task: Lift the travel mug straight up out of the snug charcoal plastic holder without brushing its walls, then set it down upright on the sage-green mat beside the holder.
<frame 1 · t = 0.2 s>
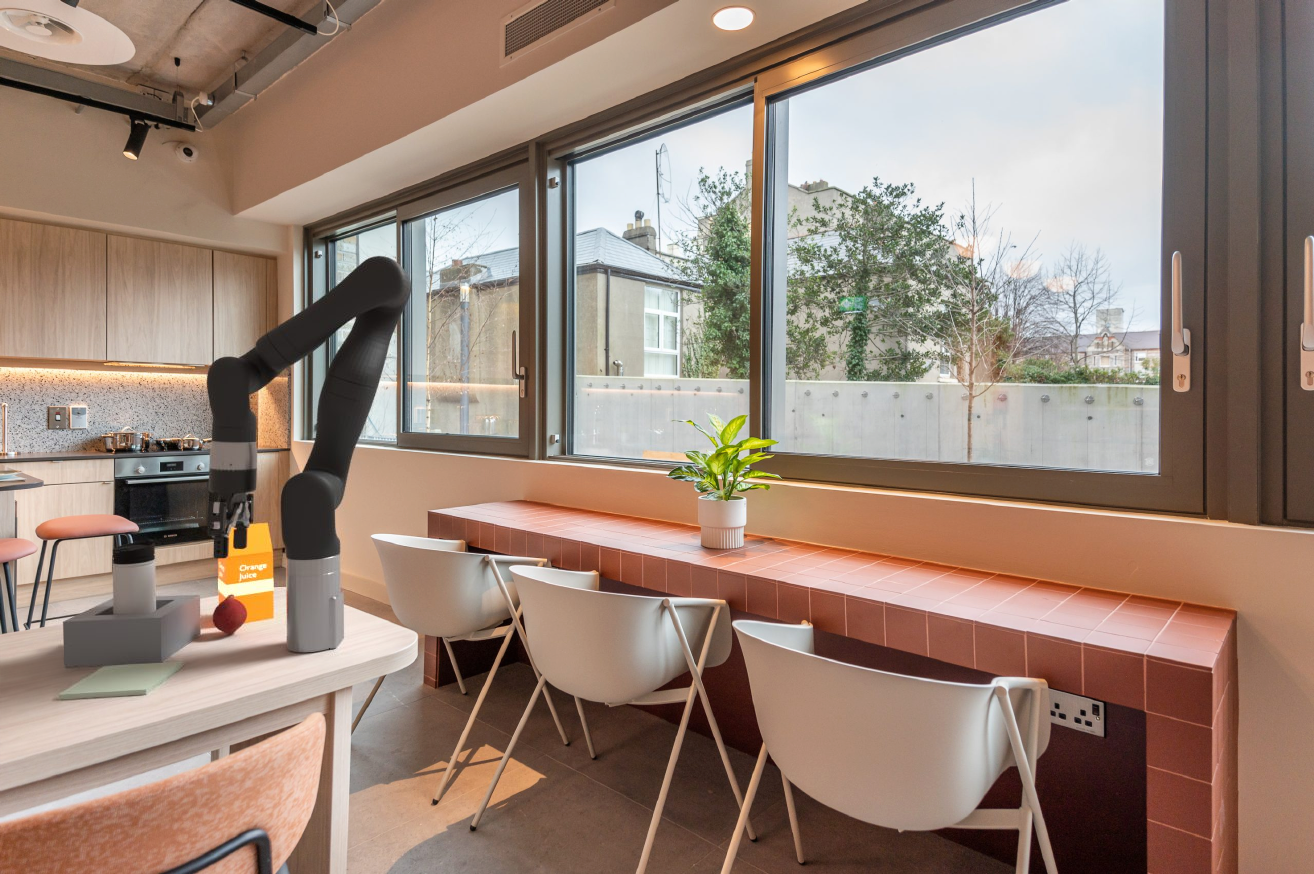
hand: (230, 553, 128), 18 cm above the table, tool pointing down, fingers open, 8 cm apart
onion: (230, 635, 137), on the table
orange juice: (246, 618, 148), on the table
travel mug: (137, 651, 128), resting in holder
holder: (137, 650, 128), on the table
mat: (124, 681, 113), on the table
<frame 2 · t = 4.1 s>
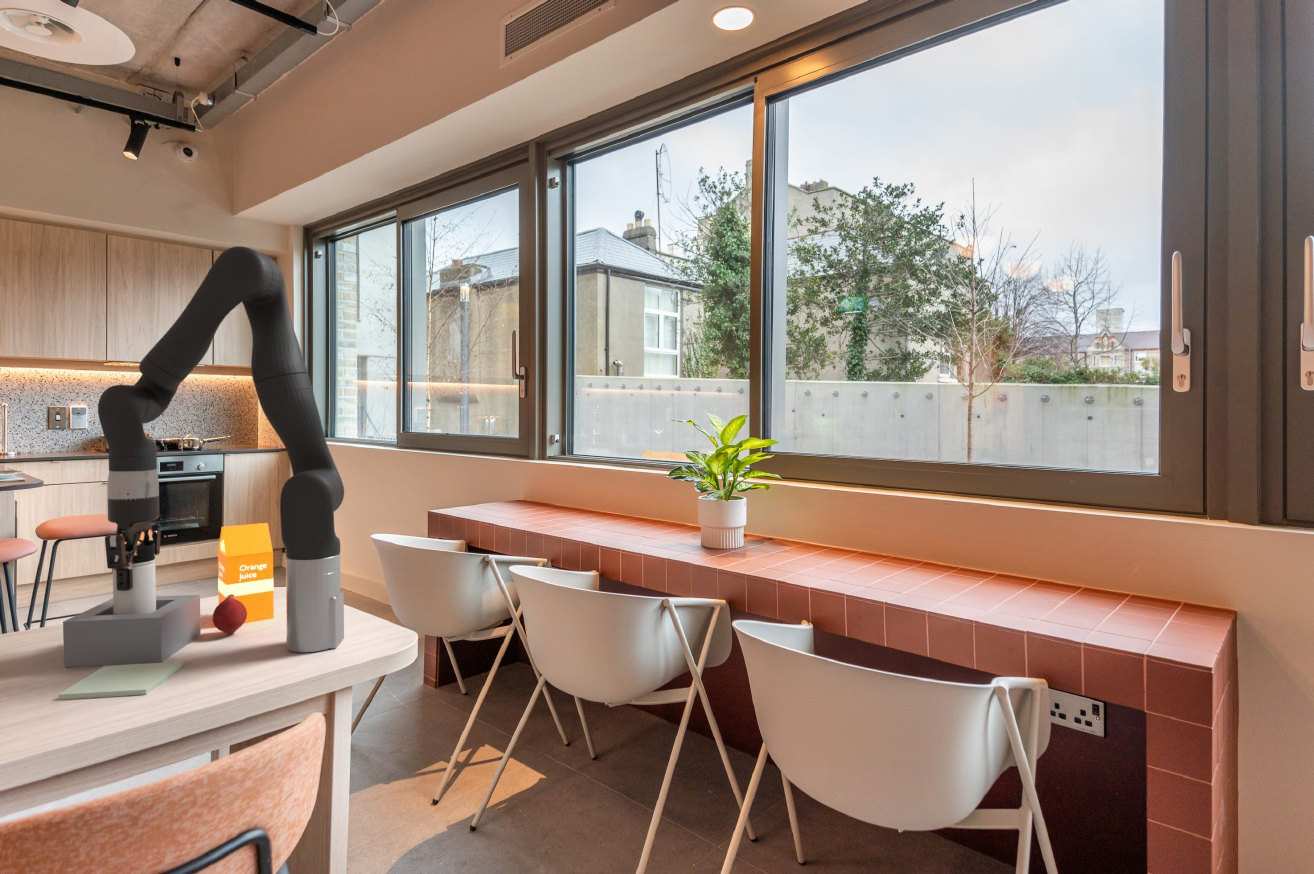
hand: (135, 585, 127), 12 cm above the table, tool pointing down, fingers closed on travel mug, 6 cm apart
travel mug: (136, 651, 128), resting in holder, touching gripper
everything else where it was.
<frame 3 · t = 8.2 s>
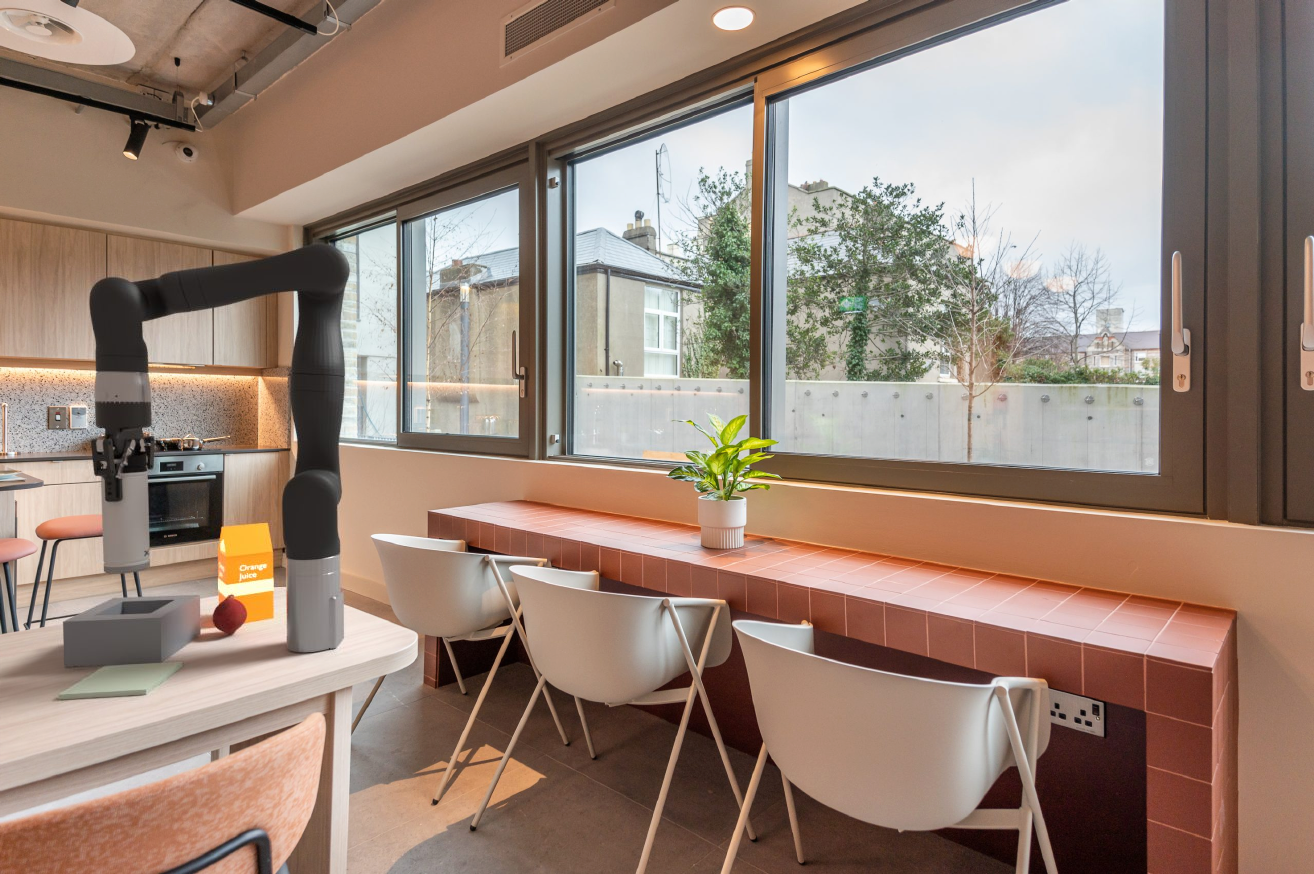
hand: (126, 498, 117), 29 cm above the table, tool pointing down, fingers closed on travel mug, 6 cm apart
travel mug: (128, 570, 118), point 17 cm above the table, touching gripper
everything else where it was.
when the fingers open (15 cm above the table, at t = 12.5 s): travel mug drops 2 cm, resting on mat.
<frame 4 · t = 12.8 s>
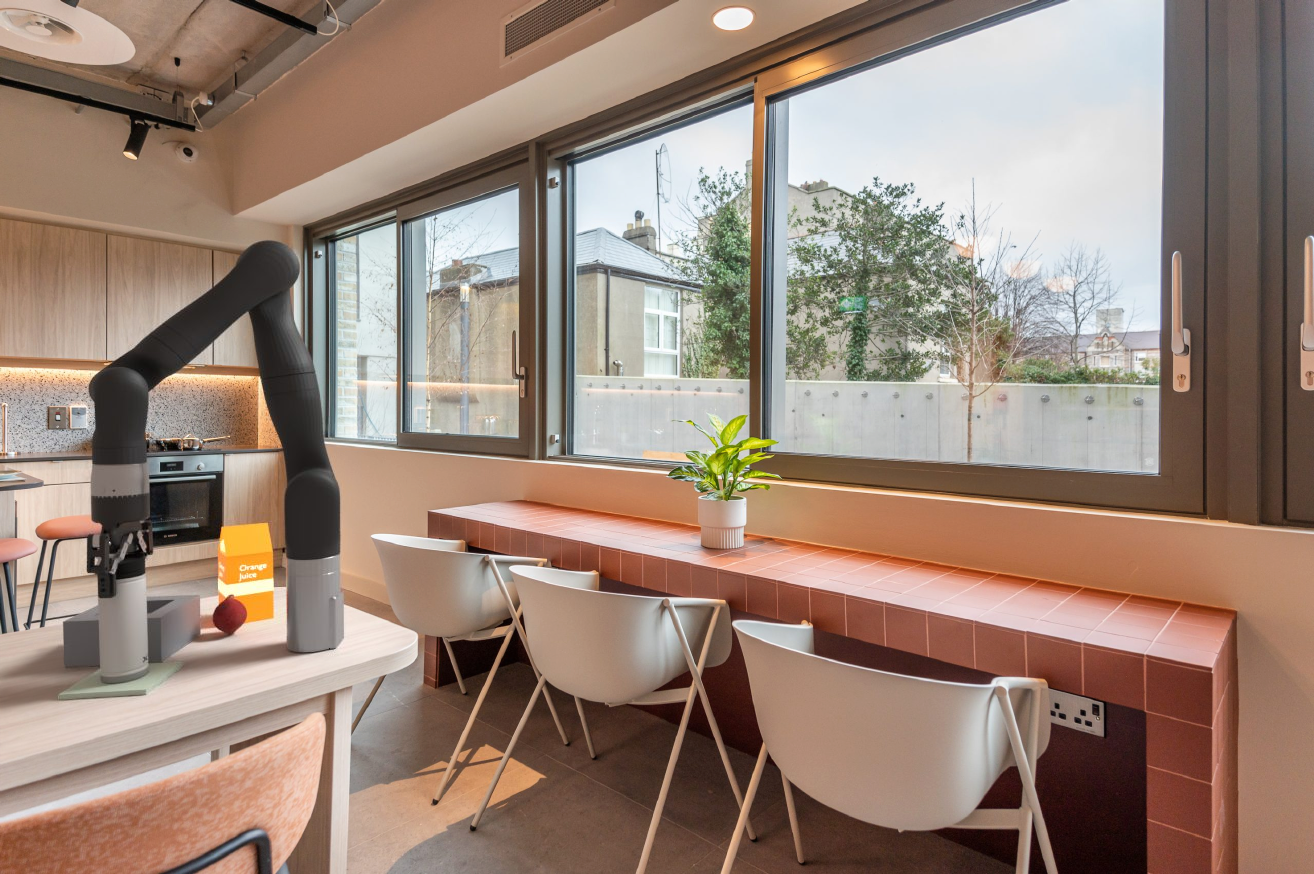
hand: (122, 590, 113), 15 cm above the table, tool pointing down, fingers open, 8 cm apart
travel mug: (126, 677, 114), point 1 cm above the table, touching mat
everything else where it was.
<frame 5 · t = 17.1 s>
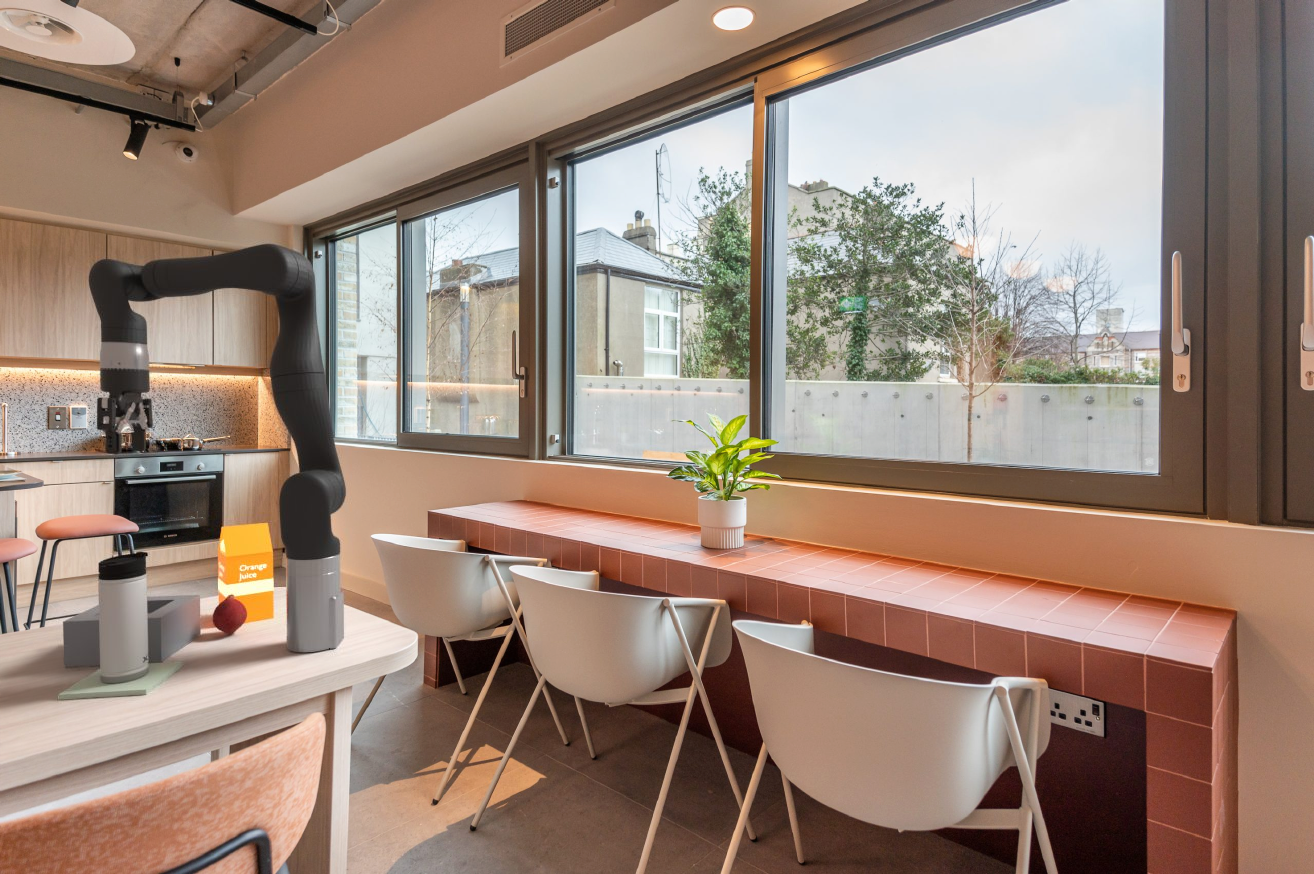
hand: (126, 452, 133), 36 cm above the table, tool pointing down, fingers open, 8 cm apart
nothing on the table moved.
at the end: travel mug 0.3 cm from the mat (horizontally); travel mug tilted 0°; the gripper is holding nothing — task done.
